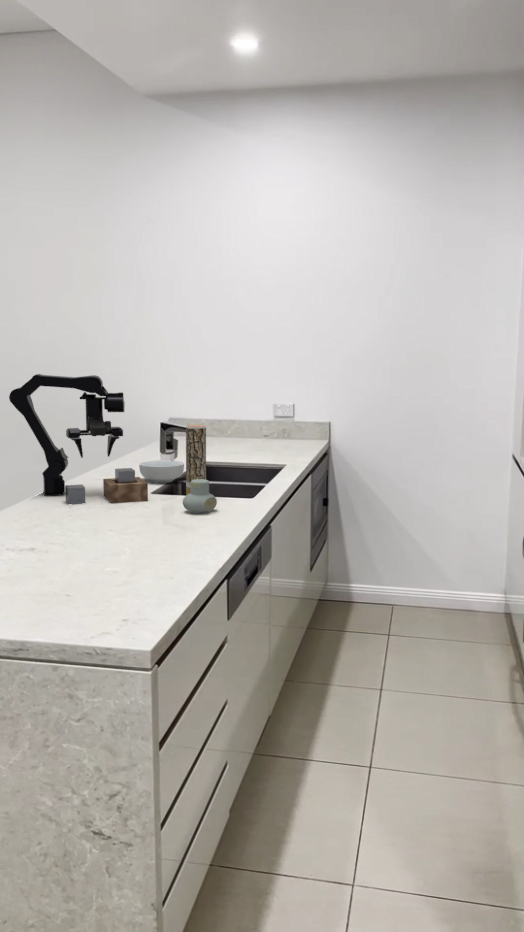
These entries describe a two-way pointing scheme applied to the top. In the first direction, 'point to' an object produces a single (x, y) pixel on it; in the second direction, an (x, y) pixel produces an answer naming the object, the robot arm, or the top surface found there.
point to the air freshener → (199, 497)
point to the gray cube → (75, 494)
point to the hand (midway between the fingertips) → (95, 457)
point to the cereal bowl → (161, 470)
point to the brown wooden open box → (125, 491)
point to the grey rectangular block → (124, 475)
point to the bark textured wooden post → (195, 454)
